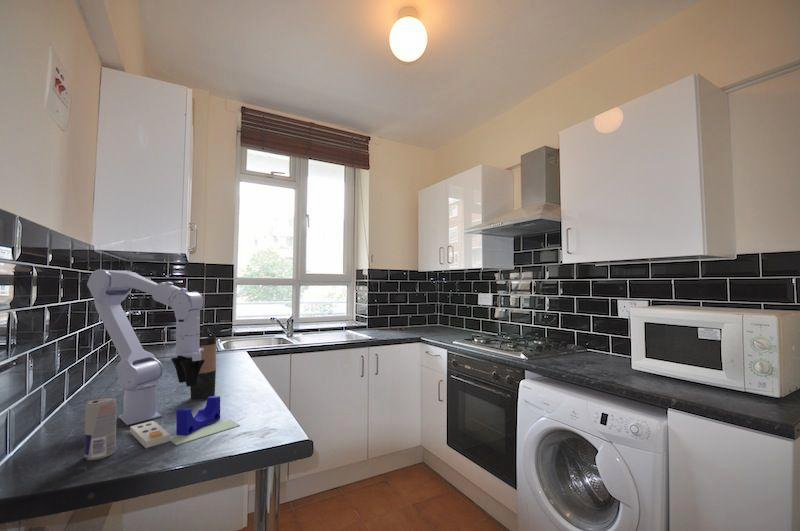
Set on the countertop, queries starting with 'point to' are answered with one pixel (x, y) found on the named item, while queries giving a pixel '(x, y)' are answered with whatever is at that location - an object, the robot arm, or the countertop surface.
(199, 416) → the cable clip
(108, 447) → the energy drink
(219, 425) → the mat
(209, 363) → the travel mug
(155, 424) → the power strip
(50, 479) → the countertop surface
